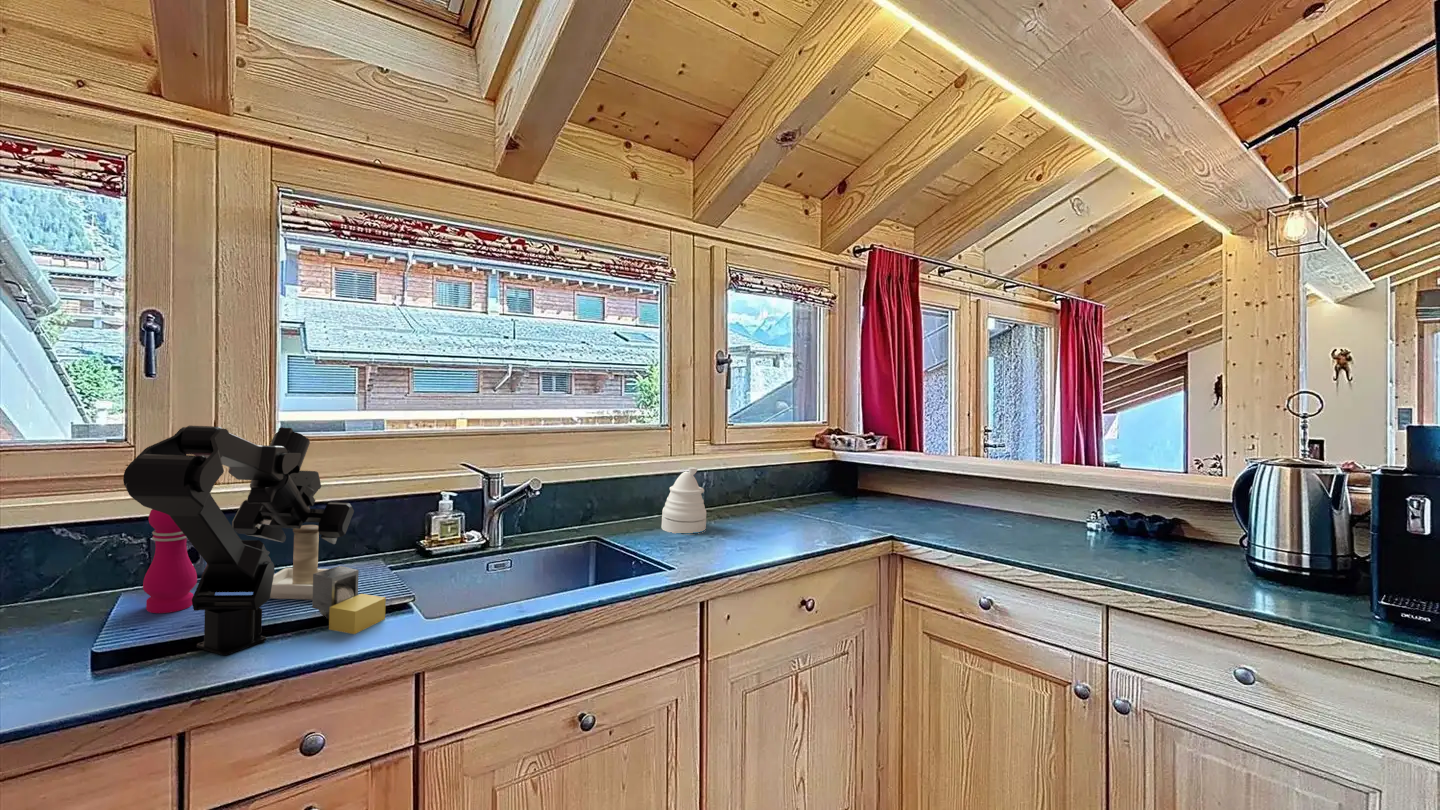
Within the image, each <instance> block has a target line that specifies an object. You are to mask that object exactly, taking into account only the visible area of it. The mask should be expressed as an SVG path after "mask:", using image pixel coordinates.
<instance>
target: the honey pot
mask: <svg viewBox="0 0 1440 810" xmlns="http://www.w3.org/2000/svg"><path fill="white" fill-rule="evenodd" d="M687 470H688V471H684V472H681V474H680V475H678V477H677V478H676V480H675V481H674V483H673V485H671V486H670V487H669V491H670V492H669V494H668V495H667V498H666V501H665V502H664V506H663V508H662V514H661V515H662V516H661V530H663V531H665V532H667V533H670V532H672V534H676V533H693V532H700V531H703V530H705V529H707V509H706V508H705V504H704V503H705V500H704V498H703V496H702V494H703V493H704V492H705V489H704V488H703V487H701V486H699V483H698V481H697V479H696V477H695V474H696V473H697V471H698V467H693V466H692V467H691V466H689V467H687ZM705 531H706V530H705Z"/></svg>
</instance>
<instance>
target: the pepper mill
mask: <svg viewBox="0 0 1440 810" xmlns="http://www.w3.org/2000/svg"><path fill="white" fill-rule="evenodd" d="M148 514H149V515H148V523H149V526H151V528H153V529H154V530H153V531H152V532H151V534H152V538H151V539H152V540H153V541H155V551H154V556H153V559H152V561H151V564H150V565H149V567H148V569H147V571H146V573H145V575H144V578H143V582H142V584H143V585H142V589H143V591H144V592H145V593H146V594H147V595H149V596H150V597H148V598H147V599H146V602H145V603H146V605H145V607H146V611H147V612H148V613H151V614H168V613H174V612H179V611H183V610H185V609H188V608H190V607H191V606H193V605H192V598H193V596H194V593H193V592H191V590H192V589H193V588H195V587H196V585H197V583H198V574H197V570H196V568H195V566H194V565H193V563H192V561H191V559H190V557H189V554H188V549H187V542H188V541H187V540H188V539H187V537H186V536H185V535H184V533H183V532H182V531H181V530H180V528H179V527H178V526H177V525H176V523H175V522H174V521H173V519H172V518H171V517H170V516H169V515H168V514H166V513H163V512H160V511H157V510H154V509H151V510H150V512H149V513H148Z"/></svg>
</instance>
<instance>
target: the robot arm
mask: <svg viewBox="0 0 1440 810" xmlns="http://www.w3.org/2000/svg"><path fill="white" fill-rule="evenodd" d="M310 444H311V441H310V439H309V438H307V436H305V435H304V434H301V433H299V432H296V431H294V430H293V428H292V427H279V428H278V430H277V432H276V433H275V434H274V435H273V438H272V439H271V441H270V444H269V445H262V444H261V445H258V444H256V443H254V442H251V441H249V440H247V439H245V438H242V437H240V436H238V435H235V434H233V433H231V432H229V430H228V429H227V428H223V427H222V426H214V425H213V426H211V425H210V426H208V425H188V426H182V427H181V428H179V429H178V430H177V431H176V433H174V435H172V436H169V437H167V438H165V439H163V440H161V441H158V442H157V443H154V444H151V445H149V446H147V447H145V448H144V449H143V450H142V451H141V452H140V453H139V454H138V455H137V456H136V457H135V458H134V459H133V460H132V461H131V462H130V463H129V464H128V465H127V467H126V468H125V470H124V473H123V478H122V479H123V486H124V488H125V490H126V492H127V494H128V495H129V496H130V497H131V498H132V499H133V500H135V501H136V502H138V503H139V504H140V505H141V506H143V507H145V508H148V509H151V510H152V509H154V510H157V511H160V512H163V513H166V514H168V515H169V516H170V517H171V518H172V519H173V521H174V522H175V523H176V525H177V526H178V527H179V528H180V530H181V531H182V532H183V533H184V535H185V536H186V537H187V540H188V541H189V542H190V543H191V545H192V546H193V547H194V549H195V550H196V551H197V553H198V554H199V556H200V557H201V558H202V559H203V560H204V561H205V563H206V565H205V568H204V569H203V572H202V574H201V578H200V579H199V582H198V584H197V587H196V589H195V591H194V593H193V598H192V605H191V606H192V608H193V609H192V610H193V611H195V612H197V611H204V621H203V622H204V626H203V627H204V629H203V632H204V635H203V641H202V642H197V643H196V648H197V649H202V650H205V651H207V652H211V653H213V654H218V655H220V656H228V655H231V654H233V653H236V652H238V651H239V652H240V651H241V650H245V649H247V648H250V647H253V646H255V645H257V644H260V643H263V642H265V641H267V637H266V636H265V635H261V634H262V626H263V623H262V622H263V609H262V608H261V607H262V606H263V605H265V604H266V603H267V602H268V601H269V600H270V599H271V598H270V594H271V589H272V583H273V577H274V574H275V564H274V562H273V561H272V560H271V557H270V556H269V555H270V551H269V550H267V549H266V547H265V544H264V542H262V541H261V540H259V539H246V540H245V539H244V540H243V539H241V537H240V536H239V534H240V535H246V536H250V537H257V538H260V539H266V540H270V541H274V542H280V543H285V542H286V539H287V536H286V534H285V531H284V530H283V529H293V528H296V529H300V528H301V526H302V525H303V524H304V523H318V532H319V535H320V538H321V539H322V540H324V541H327V542H328V543H330V544H332V545H335V544H337V540H338V538H342V537H344V536H345V535H346V533H347V531H348V528H349V526H350V523H351V520H352V518H353V515H354V512H355V510H354V508H353V506H352V505H351V503H349V502H331V501H330V502H328V503H327V504H326V506H325V507H324V508H319V509H318V508H310V507H313V506H314V505H315V502H316V499H315V497H314V496H315V495H316V494H317V492H318V491H319V490H320V489H321V488H322V483H321V478H320V474H319V473H320V472H318V471H316V470H301V467H302V466H303V464H304V459H305V457H306V454H307V452H308V450H309V447H310ZM224 466H225V467H228V473H229V474H230V475H231V476H232V477H233V478H235V479H237V480H239V481H250V483H249V488H250V491H249V493H248V496H247V499H245V500H243V501H242V502H241V505H240V506H239V508H238V510H237V511H236V513H235V516H234V518H233V519H232V521H231V523H230V521H229V520H228V518H227V517H226V515H225V514H224V512H223V511H222V509H221V508H220V507H219V505H218V504H217V502H216V500H215V499H214V497H213V496H212V495H211V493H212V490H213V488H214V486H215V485H216V483H217V482H218V480H219V479H220V478H221V476H223V474H224V472H225V469H224ZM216 593H252V594H227V595H226V594H222V595H219V594H218V595H217V594H216Z"/></svg>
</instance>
